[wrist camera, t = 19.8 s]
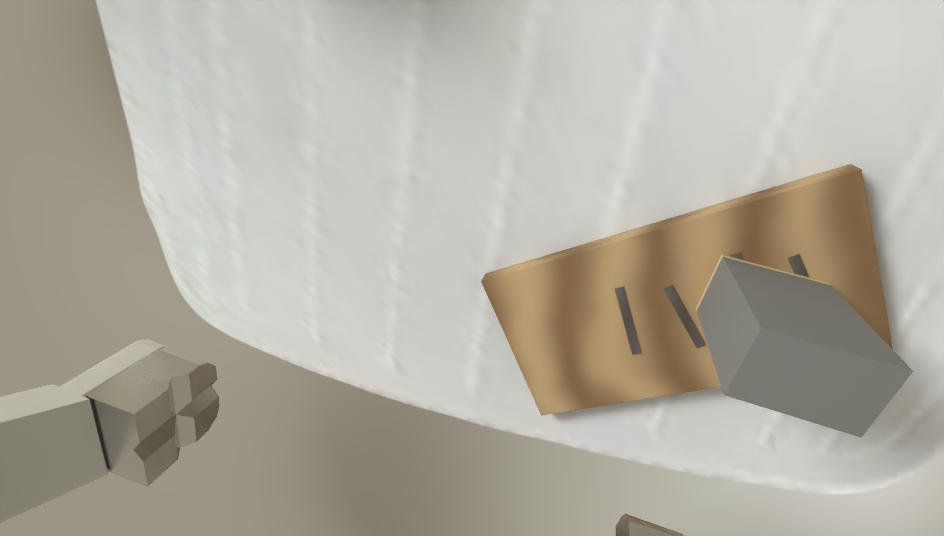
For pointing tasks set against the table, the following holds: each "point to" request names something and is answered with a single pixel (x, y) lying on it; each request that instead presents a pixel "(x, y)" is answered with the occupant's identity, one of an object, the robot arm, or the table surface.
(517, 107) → the table surface
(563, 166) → the table surface
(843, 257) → the oak board
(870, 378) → the block
